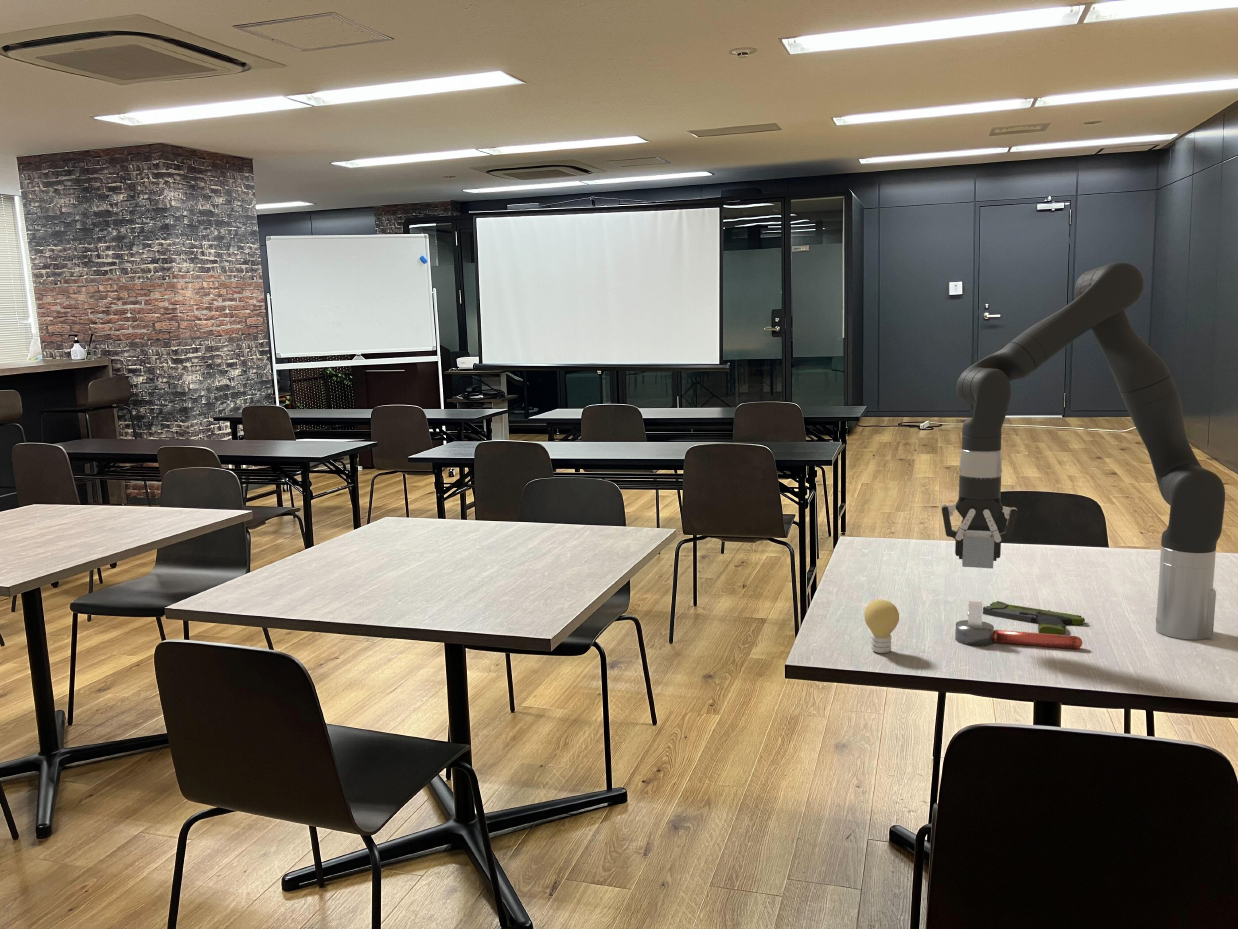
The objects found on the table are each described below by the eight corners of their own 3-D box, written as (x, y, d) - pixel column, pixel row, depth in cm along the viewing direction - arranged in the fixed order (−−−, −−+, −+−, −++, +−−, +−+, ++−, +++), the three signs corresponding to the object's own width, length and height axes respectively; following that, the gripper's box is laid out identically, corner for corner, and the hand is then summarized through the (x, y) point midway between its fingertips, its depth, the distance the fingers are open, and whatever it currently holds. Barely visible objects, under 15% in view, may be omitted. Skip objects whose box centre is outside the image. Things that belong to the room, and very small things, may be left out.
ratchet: (1079, 643, 183) (1081, 605, 182) (1084, 655, 177) (1086, 616, 175) (955, 633, 190) (956, 597, 189) (955, 644, 184) (956, 607, 183)
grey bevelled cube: (991, 561, 185) (992, 531, 184) (993, 568, 180) (994, 537, 179) (961, 559, 187) (962, 529, 186) (962, 566, 182) (963, 536, 181)
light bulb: (892, 645, 184) (893, 595, 183) (903, 656, 178) (904, 605, 177) (859, 646, 184) (860, 596, 183) (869, 657, 178) (870, 606, 176)
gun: (968, 625, 197) (993, 609, 208) (1065, 642, 185) (1086, 624, 196) (968, 613, 197) (993, 598, 208) (1066, 629, 184) (1087, 612, 196)
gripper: (1019, 471, 182) (1016, 556, 185) (940, 468, 187) (938, 552, 189) (1022, 477, 175) (1018, 566, 178) (940, 474, 180) (937, 561, 182)
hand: (977, 558), depth 184 cm, fingers closed on grey bevelled cube, 5 cm apart
